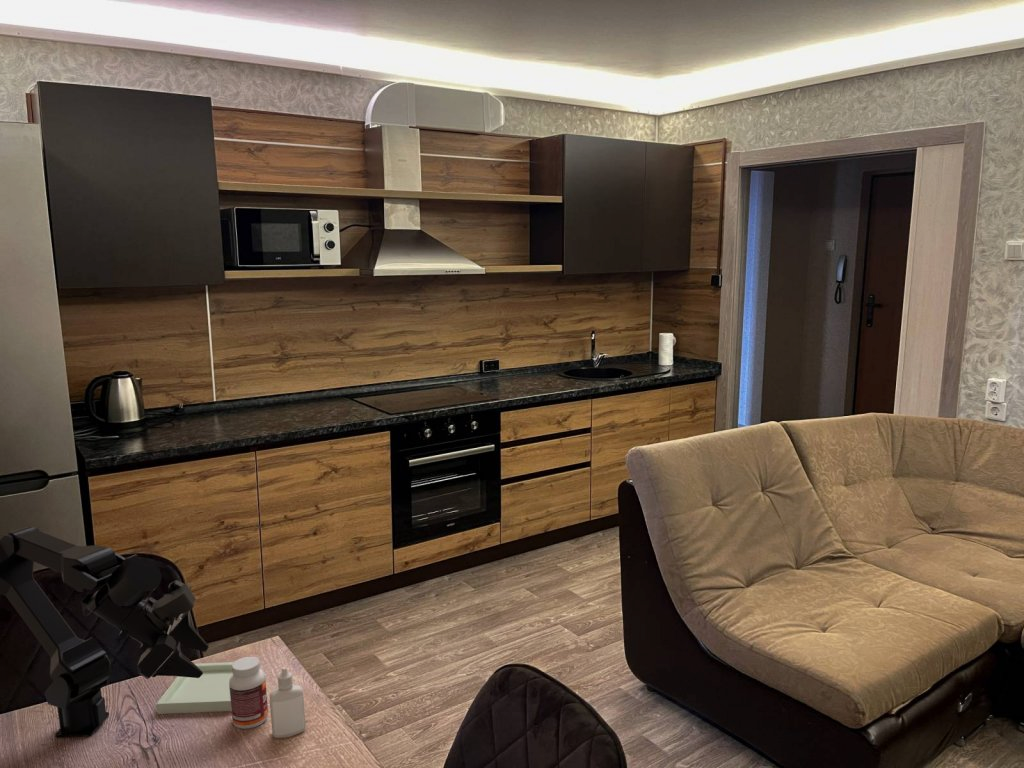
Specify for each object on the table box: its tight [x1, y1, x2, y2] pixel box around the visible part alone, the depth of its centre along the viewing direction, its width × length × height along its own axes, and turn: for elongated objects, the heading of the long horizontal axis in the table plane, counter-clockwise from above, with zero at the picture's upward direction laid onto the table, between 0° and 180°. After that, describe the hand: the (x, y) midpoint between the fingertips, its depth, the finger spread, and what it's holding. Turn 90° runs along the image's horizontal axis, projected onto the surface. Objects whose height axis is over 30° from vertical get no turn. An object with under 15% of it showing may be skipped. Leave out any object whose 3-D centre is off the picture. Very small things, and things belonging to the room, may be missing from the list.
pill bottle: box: [229, 656, 269, 730], centre depth 134 cm, size 6×6×11 cm
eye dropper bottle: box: [269, 666, 307, 739], centre depth 130 cm, size 4×6×12 cm
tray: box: [156, 661, 235, 715], centre depth 144 cm, size 14×14×2 cm
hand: (204, 661), depth 131 cm, fingers open, 9 cm apart
